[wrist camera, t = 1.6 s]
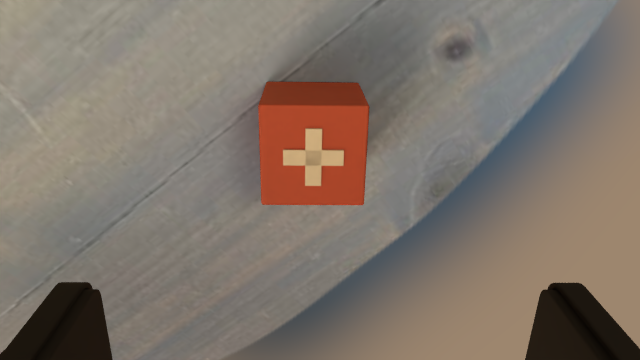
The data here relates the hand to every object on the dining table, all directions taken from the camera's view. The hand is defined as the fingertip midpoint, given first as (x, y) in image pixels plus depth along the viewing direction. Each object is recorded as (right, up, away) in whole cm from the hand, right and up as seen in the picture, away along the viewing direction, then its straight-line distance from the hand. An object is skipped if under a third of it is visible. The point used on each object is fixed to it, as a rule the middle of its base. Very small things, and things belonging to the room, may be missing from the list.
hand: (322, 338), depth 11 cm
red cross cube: (0, +6, +15) cm, 16 cm away
